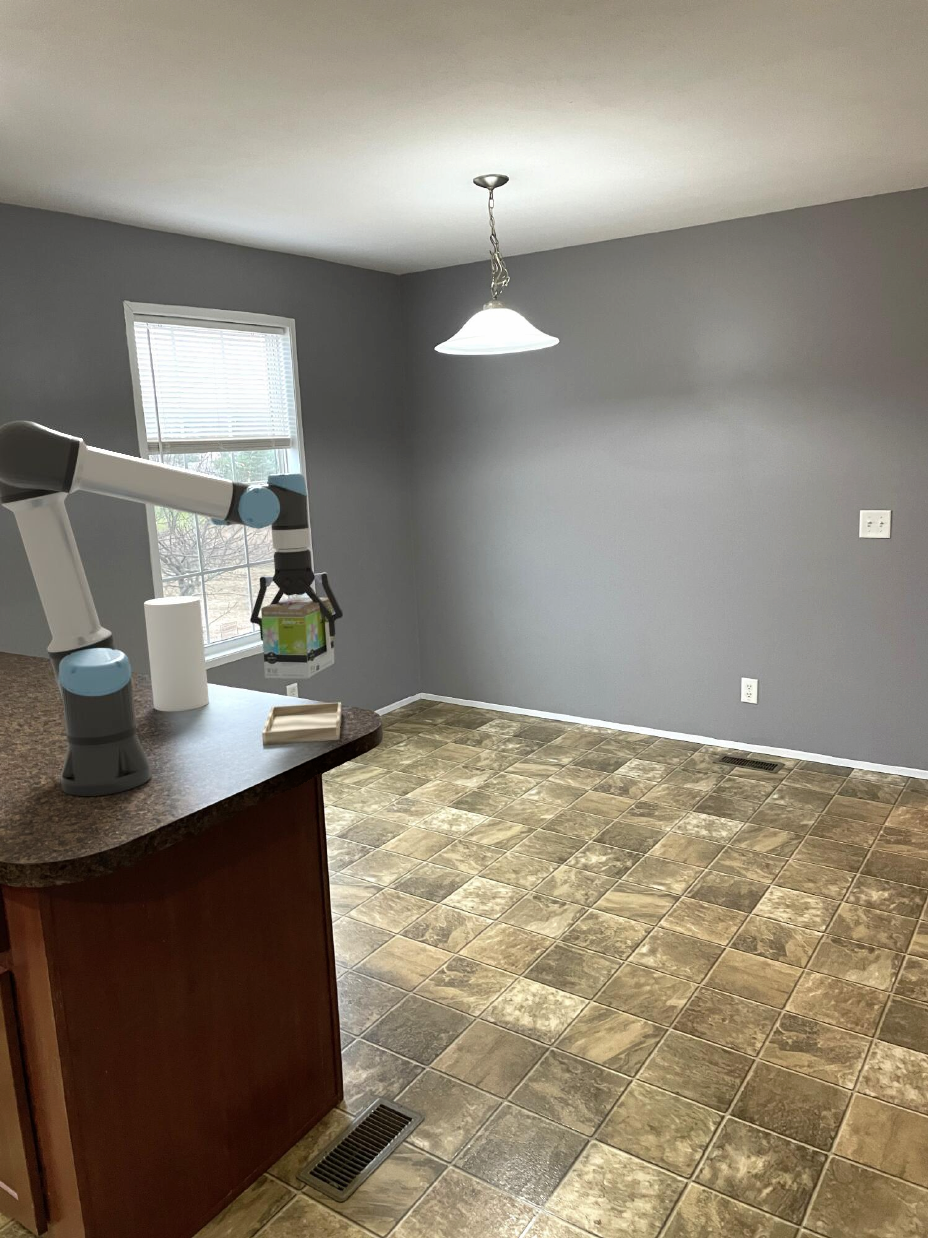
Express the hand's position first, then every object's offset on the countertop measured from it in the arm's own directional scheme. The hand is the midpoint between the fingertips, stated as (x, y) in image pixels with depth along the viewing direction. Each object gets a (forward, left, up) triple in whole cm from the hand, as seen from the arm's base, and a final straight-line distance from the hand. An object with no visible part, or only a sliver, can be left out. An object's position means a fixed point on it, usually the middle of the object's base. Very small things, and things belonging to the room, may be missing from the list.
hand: (299, 653), depth 194 cm
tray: (0, 0, -16) cm, 16 cm away
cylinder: (+27, +31, -16) cm, 44 cm away
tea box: (0, 0, -4) cm, 4 cm away
